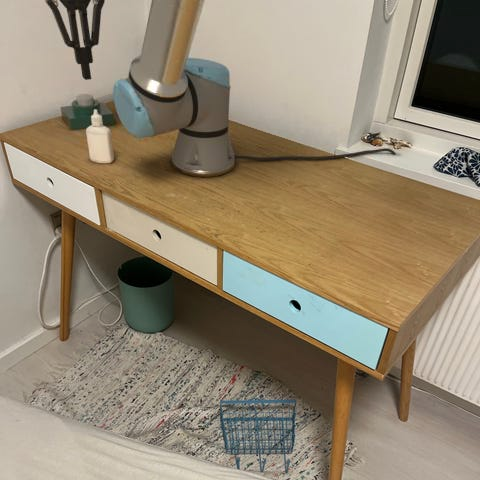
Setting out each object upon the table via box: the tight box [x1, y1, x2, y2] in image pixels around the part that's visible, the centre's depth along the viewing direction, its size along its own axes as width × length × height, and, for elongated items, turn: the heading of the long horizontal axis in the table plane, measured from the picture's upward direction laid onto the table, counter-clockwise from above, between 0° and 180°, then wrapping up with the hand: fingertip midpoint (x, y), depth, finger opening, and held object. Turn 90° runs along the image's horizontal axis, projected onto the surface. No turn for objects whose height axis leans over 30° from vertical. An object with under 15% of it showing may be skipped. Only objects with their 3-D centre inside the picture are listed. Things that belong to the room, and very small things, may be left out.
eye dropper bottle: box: [85, 109, 115, 164], centre depth 119 cm, size 4×6×12 cm
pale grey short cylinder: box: [76, 93, 94, 106], centre depth 138 cm, size 4×4×2 cm
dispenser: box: [59, 98, 115, 131], centre depth 140 cm, size 12×10×5 cm
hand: (86, 77), depth 123 cm, fingers closed
